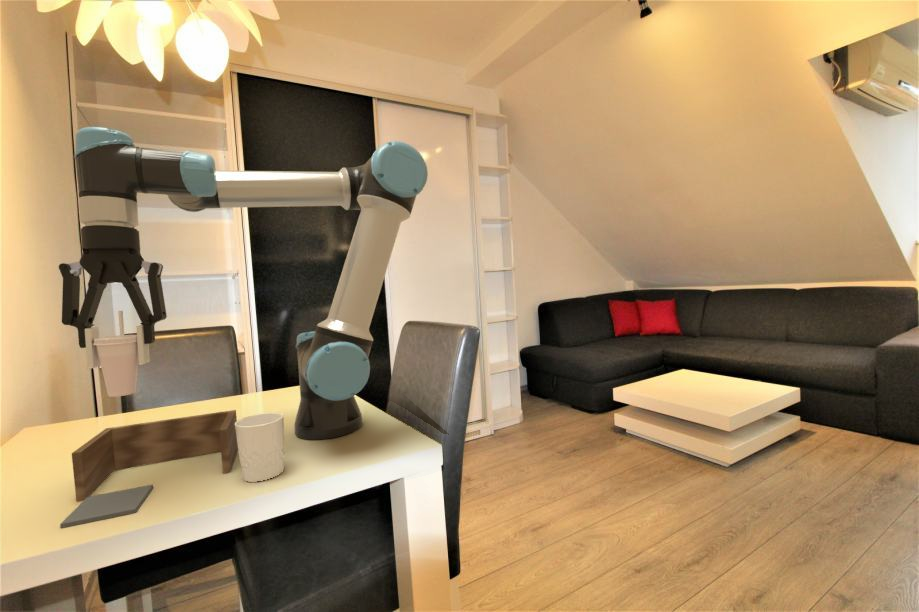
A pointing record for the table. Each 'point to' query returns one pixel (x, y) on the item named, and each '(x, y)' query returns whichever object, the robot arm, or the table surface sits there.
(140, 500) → the mat
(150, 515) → the table surface
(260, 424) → the white cup
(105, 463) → the wooden enclosure
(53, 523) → the table surface
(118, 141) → the robot arm
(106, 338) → the smoothie
